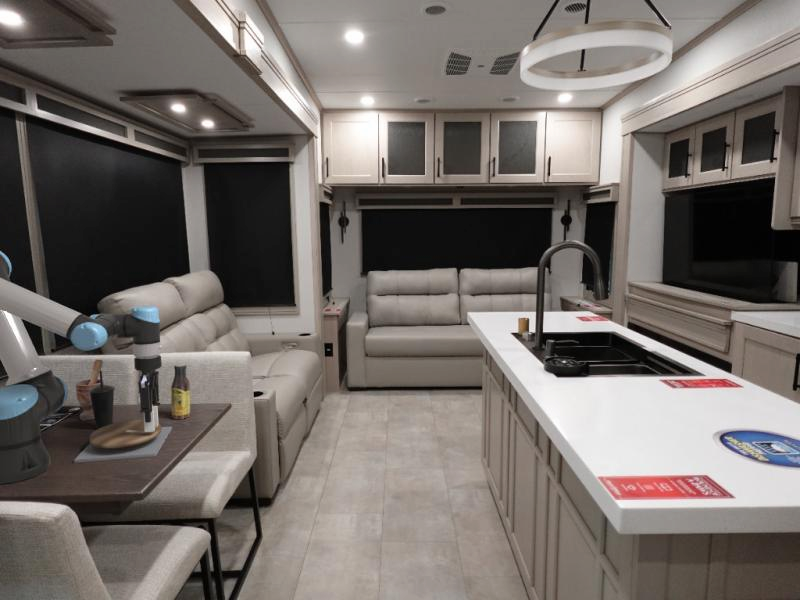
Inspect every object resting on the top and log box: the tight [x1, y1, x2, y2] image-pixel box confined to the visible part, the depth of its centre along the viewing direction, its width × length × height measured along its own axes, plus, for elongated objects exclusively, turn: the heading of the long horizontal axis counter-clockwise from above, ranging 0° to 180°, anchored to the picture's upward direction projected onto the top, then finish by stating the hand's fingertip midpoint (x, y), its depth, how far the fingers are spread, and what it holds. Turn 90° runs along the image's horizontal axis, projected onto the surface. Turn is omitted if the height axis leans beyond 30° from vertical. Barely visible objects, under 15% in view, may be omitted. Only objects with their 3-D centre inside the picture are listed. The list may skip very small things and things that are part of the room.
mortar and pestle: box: [75, 359, 105, 422], centre depth 182 cm, size 12×9×20 cm
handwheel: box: [89, 404, 162, 448], centre depth 158 cm, size 20×20×12 cm
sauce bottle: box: [170, 362, 191, 420], centre depth 182 cm, size 6×6×20 cm
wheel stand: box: [73, 426, 173, 464], centre depth 159 cm, size 22×22×1 cm
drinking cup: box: [89, 370, 116, 430], centre depth 172 cm, size 8×8×20 cm
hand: (151, 428), depth 158 cm, fingers open, 4 cm apart
